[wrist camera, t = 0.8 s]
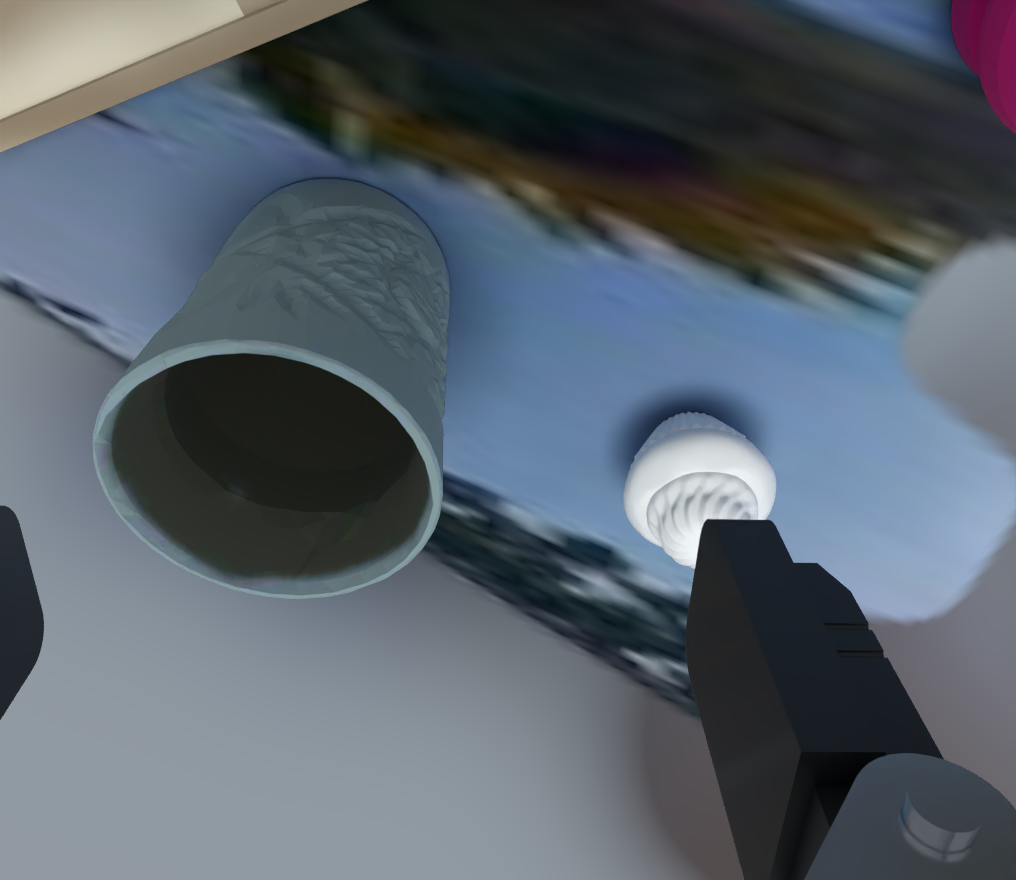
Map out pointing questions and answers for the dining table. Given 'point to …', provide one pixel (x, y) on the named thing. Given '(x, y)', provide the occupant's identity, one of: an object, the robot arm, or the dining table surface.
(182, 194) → the dining table surface
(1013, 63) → the pepper mill
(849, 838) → the robot arm
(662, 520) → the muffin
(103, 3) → the tray
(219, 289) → the grey green cup
